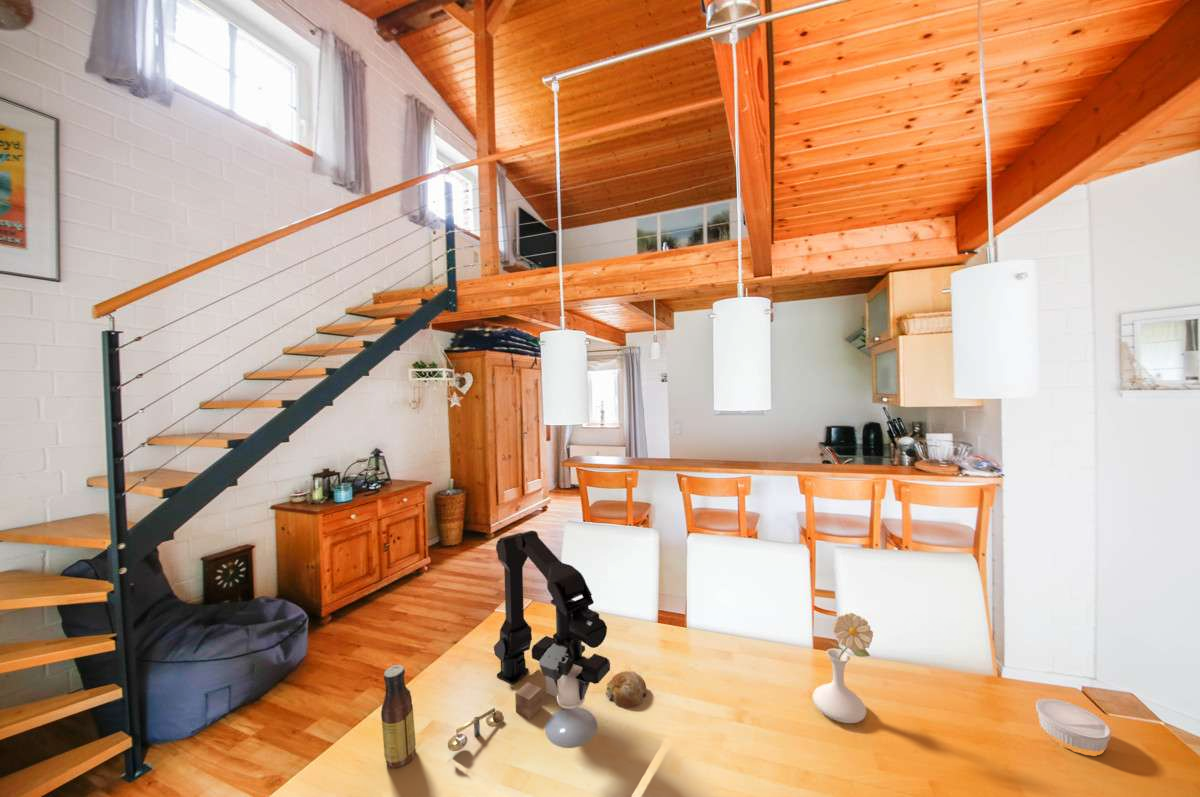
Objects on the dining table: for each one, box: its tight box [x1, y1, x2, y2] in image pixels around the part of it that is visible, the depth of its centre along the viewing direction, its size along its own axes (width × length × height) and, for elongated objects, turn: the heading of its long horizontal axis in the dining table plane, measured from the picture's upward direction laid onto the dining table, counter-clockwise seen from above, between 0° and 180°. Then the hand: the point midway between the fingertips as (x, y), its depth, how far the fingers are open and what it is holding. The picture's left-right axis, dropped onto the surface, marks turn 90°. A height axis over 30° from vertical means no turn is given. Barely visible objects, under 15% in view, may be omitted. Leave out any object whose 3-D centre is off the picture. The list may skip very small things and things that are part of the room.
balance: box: [447, 707, 504, 752], centre depth 99 cm, size 15×4×6 cm, turn 148°
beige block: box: [545, 676, 558, 698], centre depth 113 cm, size 4×4×6 cm
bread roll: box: [605, 670, 648, 709], centre depth 111 cm, size 10×10×8 cm
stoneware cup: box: [556, 665, 586, 709], centre depth 101 cm, size 6×6×7 cm
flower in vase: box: [811, 612, 874, 724], centre depth 104 cm, size 13×11×25 cm
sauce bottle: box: [380, 664, 417, 768], centre depth 95 cm, size 6×6×20 cm
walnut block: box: [514, 681, 543, 720], centre depth 107 cm, size 4×4×6 cm
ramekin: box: [1035, 698, 1112, 751], centre depth 95 cm, size 11×11×5 cm
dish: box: [544, 706, 598, 749], centre depth 101 cm, size 12×12×1 cm
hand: (570, 694), depth 101 cm, fingers closed on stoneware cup, 6 cm apart
